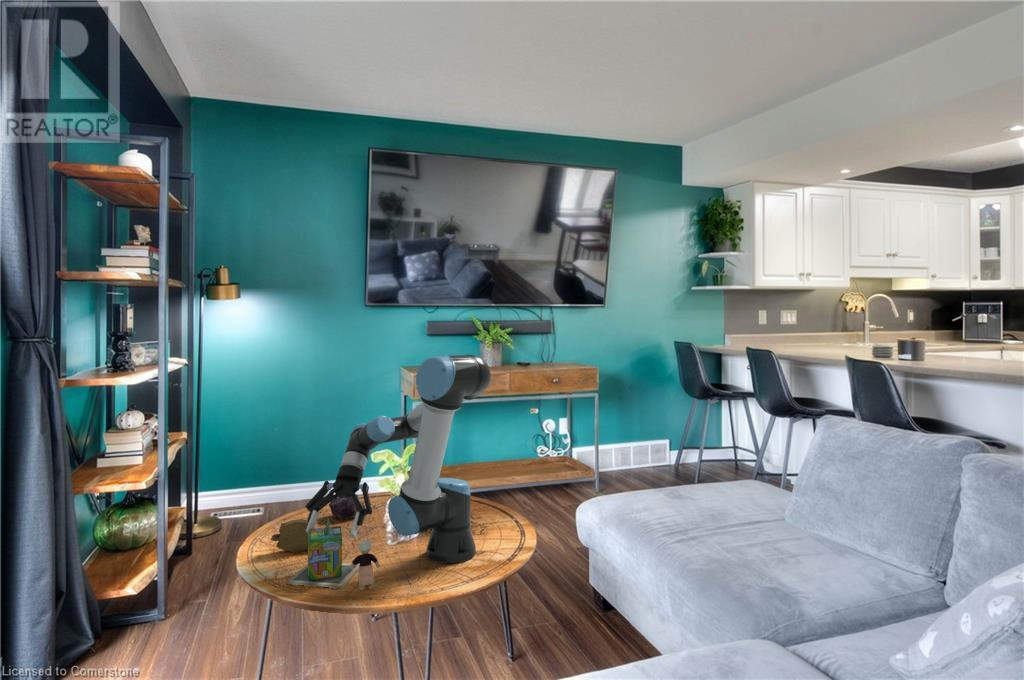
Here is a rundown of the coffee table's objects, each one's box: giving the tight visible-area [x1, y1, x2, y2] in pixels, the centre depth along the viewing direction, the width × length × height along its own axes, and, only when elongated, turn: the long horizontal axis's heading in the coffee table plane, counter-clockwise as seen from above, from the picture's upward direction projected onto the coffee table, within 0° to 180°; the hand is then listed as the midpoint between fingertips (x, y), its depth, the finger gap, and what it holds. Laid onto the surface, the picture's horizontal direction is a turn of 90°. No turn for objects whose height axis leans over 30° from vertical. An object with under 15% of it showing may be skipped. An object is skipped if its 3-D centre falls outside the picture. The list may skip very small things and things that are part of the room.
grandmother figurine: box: [350, 539, 381, 591], centre depth 155 cm, size 8×4×13 cm, turn 118°
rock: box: [328, 493, 366, 520], centre depth 212 cm, size 12×9×10 cm
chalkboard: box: [285, 562, 360, 590], centre depth 162 cm, size 16×14×1 cm
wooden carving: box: [270, 518, 309, 553], centre depth 181 cm, size 16×5×10 cm, turn 109°
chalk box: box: [307, 518, 343, 581], centre depth 162 cm, size 9×9×15 cm
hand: (330, 534), depth 166 cm, fingers open, 13 cm apart
